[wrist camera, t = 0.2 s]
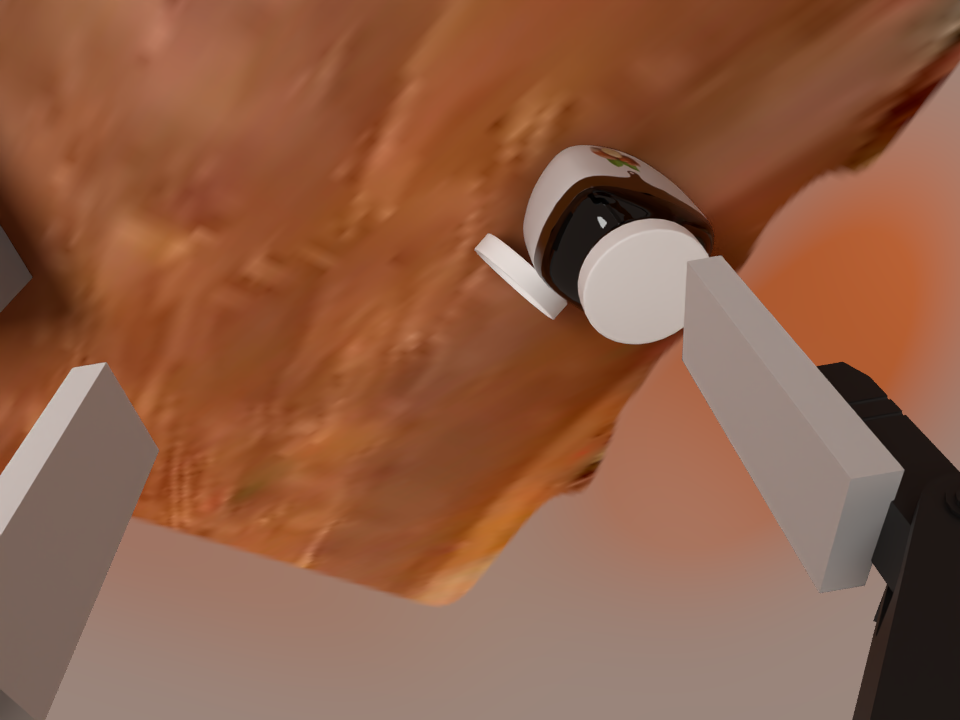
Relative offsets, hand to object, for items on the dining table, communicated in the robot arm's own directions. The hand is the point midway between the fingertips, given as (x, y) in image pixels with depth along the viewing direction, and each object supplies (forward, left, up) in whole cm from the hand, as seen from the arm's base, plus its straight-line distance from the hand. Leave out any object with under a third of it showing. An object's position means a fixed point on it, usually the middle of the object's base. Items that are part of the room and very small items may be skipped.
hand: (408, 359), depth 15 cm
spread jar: (+11, +9, -28) cm, 32 cm away
